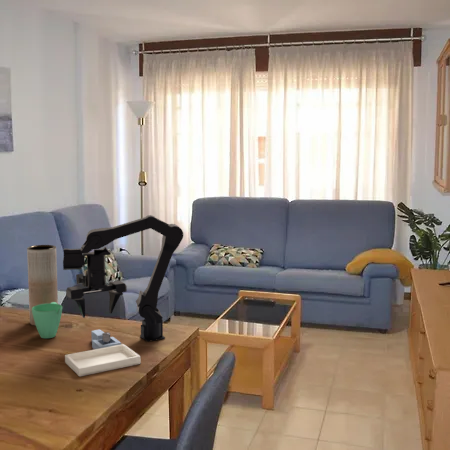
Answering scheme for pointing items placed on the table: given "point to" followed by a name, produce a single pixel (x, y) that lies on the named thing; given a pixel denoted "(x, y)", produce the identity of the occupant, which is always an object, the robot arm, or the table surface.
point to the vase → (42, 276)
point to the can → (106, 338)
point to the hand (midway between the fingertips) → (97, 315)
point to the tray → (102, 359)
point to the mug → (47, 319)
